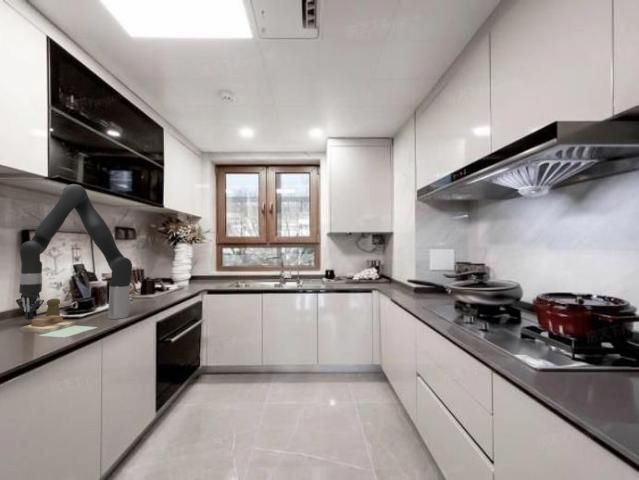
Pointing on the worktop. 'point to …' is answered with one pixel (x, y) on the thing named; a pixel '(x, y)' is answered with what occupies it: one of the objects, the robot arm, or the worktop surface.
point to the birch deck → (48, 327)
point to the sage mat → (68, 331)
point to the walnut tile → (47, 321)
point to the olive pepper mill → (53, 307)
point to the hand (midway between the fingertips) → (28, 319)
